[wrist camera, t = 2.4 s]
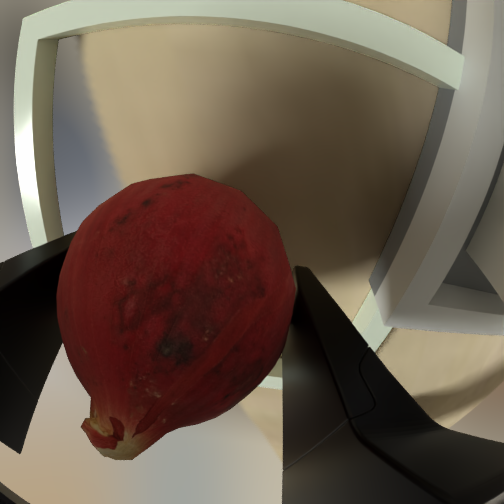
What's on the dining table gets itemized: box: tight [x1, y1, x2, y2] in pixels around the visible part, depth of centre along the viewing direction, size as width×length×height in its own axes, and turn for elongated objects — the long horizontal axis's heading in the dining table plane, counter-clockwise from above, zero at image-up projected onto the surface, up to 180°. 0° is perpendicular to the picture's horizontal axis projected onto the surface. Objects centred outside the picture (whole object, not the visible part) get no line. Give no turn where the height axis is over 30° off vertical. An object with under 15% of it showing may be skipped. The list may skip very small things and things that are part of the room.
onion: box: [56, 174, 296, 460], centre depth 7 cm, size 6×6×8 cm
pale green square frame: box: [14, 0, 465, 390], centre depth 9 cm, size 16×16×1 cm
